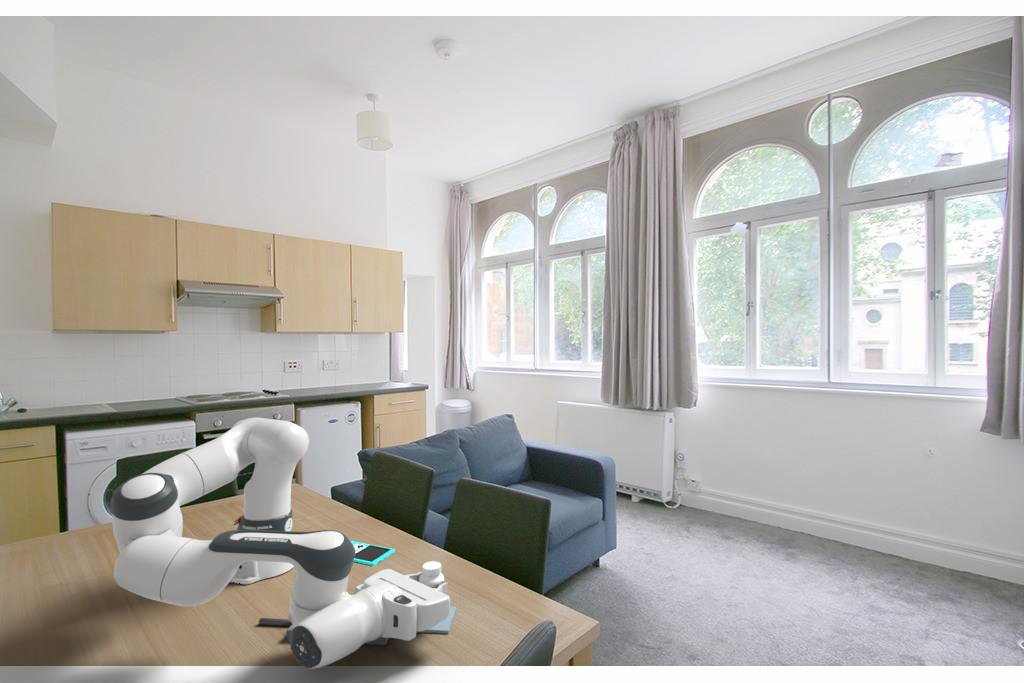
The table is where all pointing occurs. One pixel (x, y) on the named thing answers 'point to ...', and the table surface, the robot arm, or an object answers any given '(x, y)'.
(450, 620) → the rubber mat
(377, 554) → the handheld game console
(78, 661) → the table surface
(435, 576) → the supplement bottle
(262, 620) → the power strip
